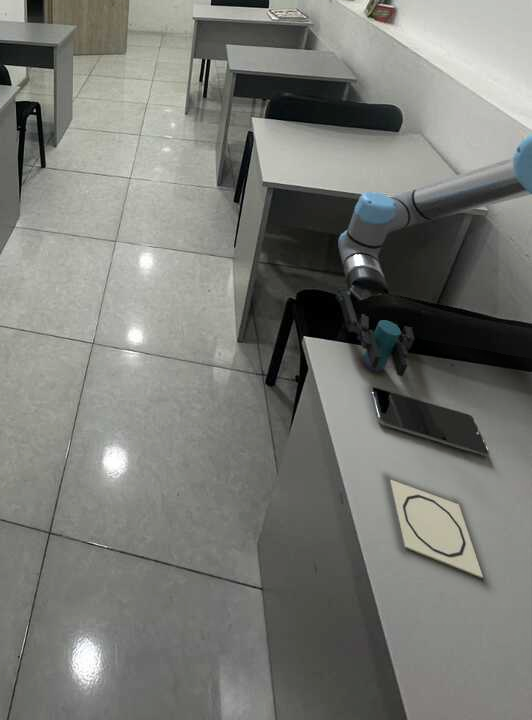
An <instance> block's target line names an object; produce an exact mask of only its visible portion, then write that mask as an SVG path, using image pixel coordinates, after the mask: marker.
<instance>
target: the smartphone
mask: <svg viewBox="0 0 532 720" xmlns="http://www.w3.org/2000/svg"><path fill="white" fill-rule="evenodd" d="M370 394H371V398H372V402H373V406H374V410H375V413H376V417H377V421H378V423H379V424H380V425H381V426H384V427H386V428H390V429H392V430H397V431H400V432H403V433H406V434H409V435H413V436H416V437H419V438H423V439H426V440H430V441H433V442H436V443H440V444H443V445H446V446H448V447H452V448H455V449H459V450H462V451H466V452H469V453H473V454H476V455H479V456H483V457H488V456H490V452H489V449H488V447H487V444H486V442H485V439H484V438H483V436H482V433H481V431H480V429H479V427H478V424H477V422H476V420H475V417H473V416H472V415H471V414H468V413H465V412H461V411H458V410H454V409H451V408H447V407H444V406H441V405H437V404H433V403H430V402H425V401H423V400H420V399H416V398H412V397H409V396H405V395H402V394H399V393H395V392H393V391H388V390H384V389H382V388H377V387H373V386H372V387H371V388H370Z"/></svg>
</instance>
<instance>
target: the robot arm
mask: <svg viewBox="0 0 532 720" xmlns="http://www.w3.org/2000/svg"><path fill="white" fill-rule="evenodd" d="M531 195H532V133H531V134H530V135H529V136H527V137H526V138H524V139H523V141H521V142H520V143H519V145H518V146H517V147H516V151H515V152H514V155H513V156H511V157H509V158H506V159H503V160H500V161H497V162H494V163H491V164H488V165H484V166H482V167H478V168H475V169H473V170H469V171H466V172H464V173H460V174H458V175H455V176H452V177H448V178H445V179H442V180H440V181H436V182H433V183H430V184H428V185H424V186H421V187H419V188H418V187H417V188H416V189H412V190H409V191H406V192H403V193H400V194H396V195H393V196H388V195H387V194H383V193H382V192H377V191H374V192H372V191H365V192H364V193H362V194H361V195H360V196H359V199H358V201H357V202H356V205H355V206H354V210H353V213H352V216H351V219H350V222H349V224H348V228H347V229H346V230H345V231H343V232H342V233H341V234H340V235H339V237H338V240H337V241H338V243H337V244H338V245H337V249H338V253H339V256H340V259H341V263H342V267H343V272H344V275H345V280H346V286H347V290H345V288H343V287H338V289H337V293H336V295H335V299H336V301H337V302H338V303H339V305H340V308H341V312H342V315H343V319H344V323H345V327H346V329H347V331H348V332H350V333H356V334H357V335H356V339H357V340H359V341H360V346H361V347H362V349H365V350H367V352H368V356H369V360H370V364H371V367H373V368H376V367H377V364H378V362H379V360H380V358H381V357H380V354H379V350H378V346H377V342H376V338H375V335H374V332H375V330H373V329H369V327H370V326H369V325H370V324H369V323H370V316H369V317H368V316H366V315H365V314H361V317H360V319H359V321H358V318H357V315H356V312H355V308H354V305H353V304H355V305H356V306H357V304H359V301H361V300H364V299H367V298H368V297H371V296H378V295H388V296H390V291H389V288H388V285H387V281H386V278H385V275H384V272H383V269H382V267H381V263H380V260H379V254H380V252H381V249H382V247H383V245H384V242H385V240H386V238H387V235H388V234H389V233H392V232H395V231H400V230H402V229H405V228H408V227H412V226H415V225H420V224H424V223H427V222H430V221H434V220H438V219H441V218H445V217H449V216H450V217H451V216H453V215H457V214H460V213H461V214H462V213H465V212H469V211H472V210H476V209H480V208H485V207H488V206H491V205H495V204H500V203H504V202H507V201H511V200H515V199H519V198H523V197H526V196H531ZM352 302H353V303H352ZM394 324H395V323H394ZM396 325H397V326H398V324H396ZM414 341H415V335H414V332H413V329H412V326H411V327H407V326H404V328H403V330H402V332H401V334H400V336H399V338H398V340H397V342H396V344H395V346H394V349H393V351H392V353H391V357H392V360H393V364H394V367H395V368H394V369H395V371H396V375H397V376H400V377H403V376H404V374H405V372H406V370H407V368H408V362H407V358H408V356H409V352H408V350H410V349H411V347H412V345H413V343H414Z"/></svg>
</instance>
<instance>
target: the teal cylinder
mask: <svg viewBox="0 0 532 720" xmlns="http://www.w3.org/2000/svg"><path fill="white" fill-rule="evenodd" d="M397 325H398V324H397ZM397 325H396V324H394V323H393V322H391V321H388V320H380V321H379V320H378V323H377V325H376V328H375V330H374V335H375V338H376V342H377V346H378V350H379V354H380V357H381V358H380V360H379V362H378V364H377V367H376V368H373V367H371V364H370V360H369V356H368V352H367V349H365V350H366V351H365V353H364V355H363V358H364V365H365V366H366V368H367V369H368V370H370V371H372V372H375V373H377V372H380V371H382V370H383V369H385V367H386V365H387V364H388V361H389V359H390V357H391V356H392V354H391V353H392V351H393V349H394V346H395V344H396V342H397V340H398V338H399V336H400V334H401V330H400V328H399V327H398V326H397Z"/></svg>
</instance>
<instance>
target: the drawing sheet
mask: <svg viewBox="0 0 532 720" xmlns="http://www.w3.org/2000/svg"><path fill="white" fill-rule="evenodd" d="M389 482H390V487H391V491H392V496H393V500H394V505H395V509H396V513H397V518H398V522H399V527H400V532H401V536H402V540H403V546H404V548H405V549H407V550H410V551H412V552H415V553H418V554H420V555H423V556H425V557H428V558H430V559H433V560H435V561H438V562H441V563H443V564H446V565H447V566H451V567H453V568H456V569H457V570H460V571H463V572H466V573H468V574H470V575H473V576H475V577H479V578H480V579H483V578H484V576H483V573H482V570H481V567H480V564H479V561H478V558H477V554H476V552H475V549H474V545H473V543H472V540H471V536H470V533H469V531H468V527H467V525H466V524H467V523H466V522H465V519H464V516H463V513H462V509H461V507H460V504H459V503H456V502H453V501H451V500H448V499H446V498H442V497H440V496H437V495H434V494H431V493H429V492H426V491H423V490H420V489H418V488H415V487H412V486H410V485H406V484H404V483H401V482H398V481H395V480H393V479H390V480H389Z"/></svg>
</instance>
